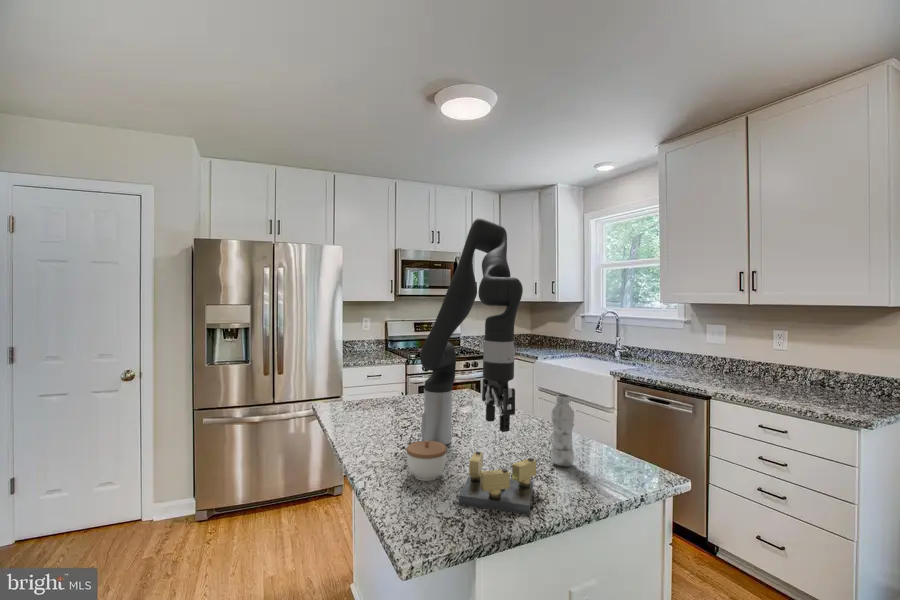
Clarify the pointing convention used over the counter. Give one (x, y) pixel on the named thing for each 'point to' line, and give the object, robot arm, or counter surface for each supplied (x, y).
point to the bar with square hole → (495, 481)
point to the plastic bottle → (562, 432)
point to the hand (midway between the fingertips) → (497, 425)
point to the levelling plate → (509, 501)
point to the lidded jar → (426, 459)
